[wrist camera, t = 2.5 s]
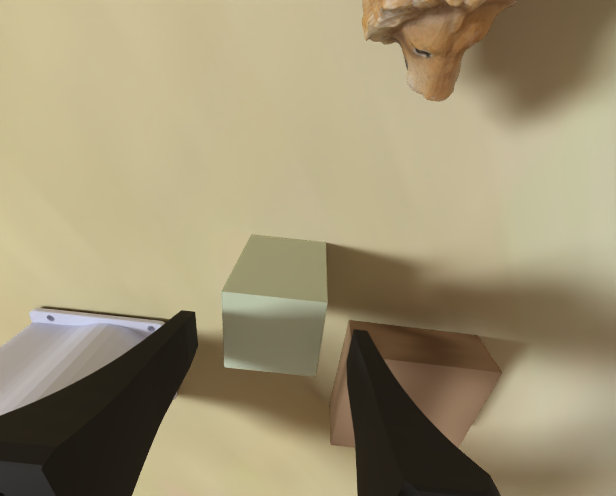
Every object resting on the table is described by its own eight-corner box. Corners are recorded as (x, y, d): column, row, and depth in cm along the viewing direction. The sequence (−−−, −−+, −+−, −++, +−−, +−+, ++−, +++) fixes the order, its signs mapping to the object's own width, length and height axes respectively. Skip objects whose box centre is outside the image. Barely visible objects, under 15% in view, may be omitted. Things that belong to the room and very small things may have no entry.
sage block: (250, 295, 20) (224, 367, 15) (251, 234, 18) (221, 291, 13) (317, 302, 20) (315, 376, 15) (325, 242, 18) (327, 302, 13)
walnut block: (329, 401, 25) (330, 444, 22) (348, 316, 21) (353, 355, 18) (435, 413, 25) (452, 458, 22) (475, 331, 21) (502, 372, 18)
